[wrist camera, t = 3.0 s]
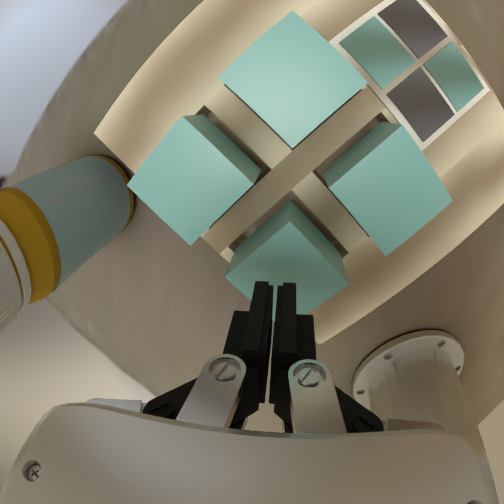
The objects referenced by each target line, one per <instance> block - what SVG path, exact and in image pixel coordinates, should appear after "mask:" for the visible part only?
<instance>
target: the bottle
mask: <svg viewBox="0 0 504 504" xmlns="http://www.w3.org/2000/svg"><path fill="white" fill-rule="evenodd" d="M128 183H129V179H128V178H127V176H126V174H125V172H124V171H123V170H122V168H121V167H120V166H119V165H118V164H117V163H115V162H114V161H113V160H111V159H109V158H107V157H105V156H100V155H91V156H87V157H83V158H81V159H78V160H75V161H72V162H69V163H66V164H63V165H61V166H58V167H55V168H53V169H50V170H47V171H45V172H42V173H40V174H37V175H35V176H32V177H30V178H28V179H25V180H23V181H20V182H18V183H16V184H14V185H11V186H9V187H7V188H5V189H3V190H1V191H0V333H1V332H2V331H3V330H4V329H5V328H6V327H7V326H8V325H9V324H10V323H11V322H12V321H13V320H14V319H15V318H16V316H17V315H18V313H20V312H21V311H22V310H23V309H24V308H25V307H26V306H27V304H30V303H33V302H36V301H39V300H42V299H44V298H45V297H47V296H48V295H49V294H50V293H51V292H53V291H54V290H55V289H56V288H58V287H59V286H60V285H61V284H62V283H63V282H64V281H65V280H66V279H67V278H68V277H69V276H71V275H72V274H73V273H74V272H75V271H76V270H77V269H78V268H79V267H81V266H82V265H83V264H84V263H85V262H86V261H87V260H88V259H90V258H91V257H92V256H93V255H94V254H95V253H97V252H98V251H99V250H100V249H101V248H102V247H104V246H105V245H106V244H107V243H108V242H110V241H111V240H112V239H113V238H114V237H116V236H117V235H118V234H119V233H120V232H121V231H122V230H123V229H124V228H125V227H126V226H127V224H128V223H129V221H130V219H131V216H132V213H133V208H134V197H133V191H132V190H131V189H130V188H129V187H128V186H127V184H128Z"/></svg>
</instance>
